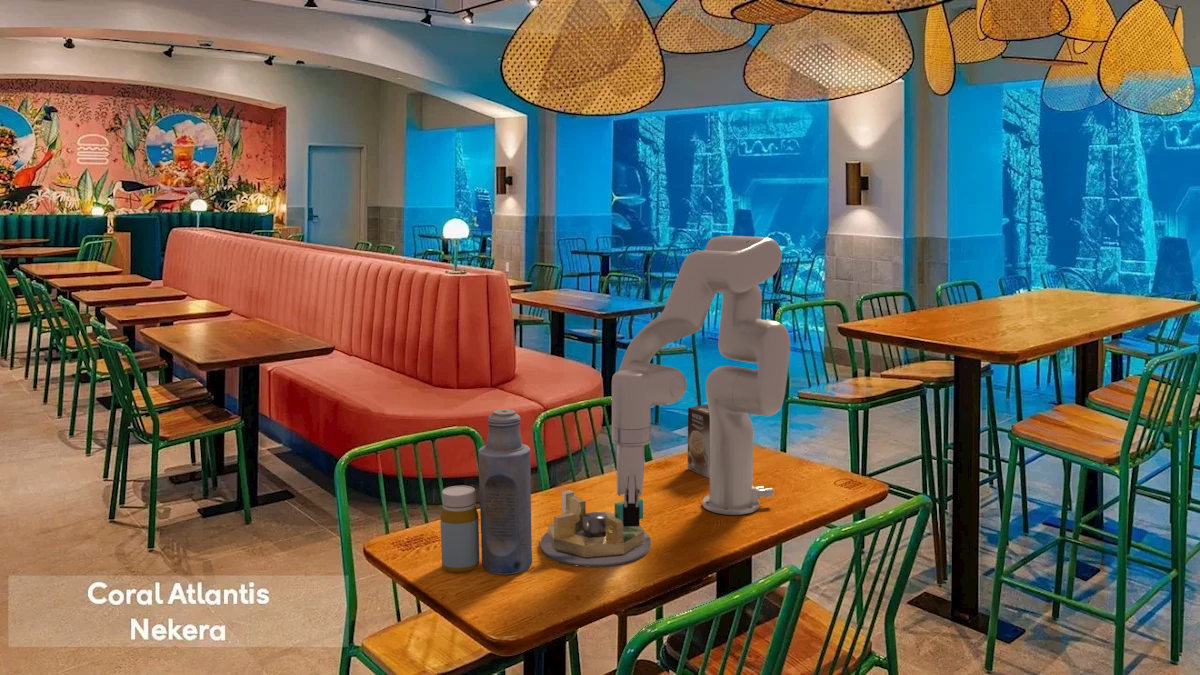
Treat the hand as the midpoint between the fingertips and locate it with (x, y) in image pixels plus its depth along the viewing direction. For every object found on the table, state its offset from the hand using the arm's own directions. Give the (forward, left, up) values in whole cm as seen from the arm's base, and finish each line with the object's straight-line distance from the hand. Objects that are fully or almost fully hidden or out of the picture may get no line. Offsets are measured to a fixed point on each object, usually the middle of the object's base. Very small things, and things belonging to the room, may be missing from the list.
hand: (631, 524), depth 185 cm
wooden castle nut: (+6, -4, -4) cm, 8 cm away
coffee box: (-31, -46, -5) cm, 55 cm away
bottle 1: (+33, +1, -5) cm, 34 cm away
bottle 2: (+25, +2, -5) cm, 25 cm away
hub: (+6, -4, -5) cm, 9 cm away
